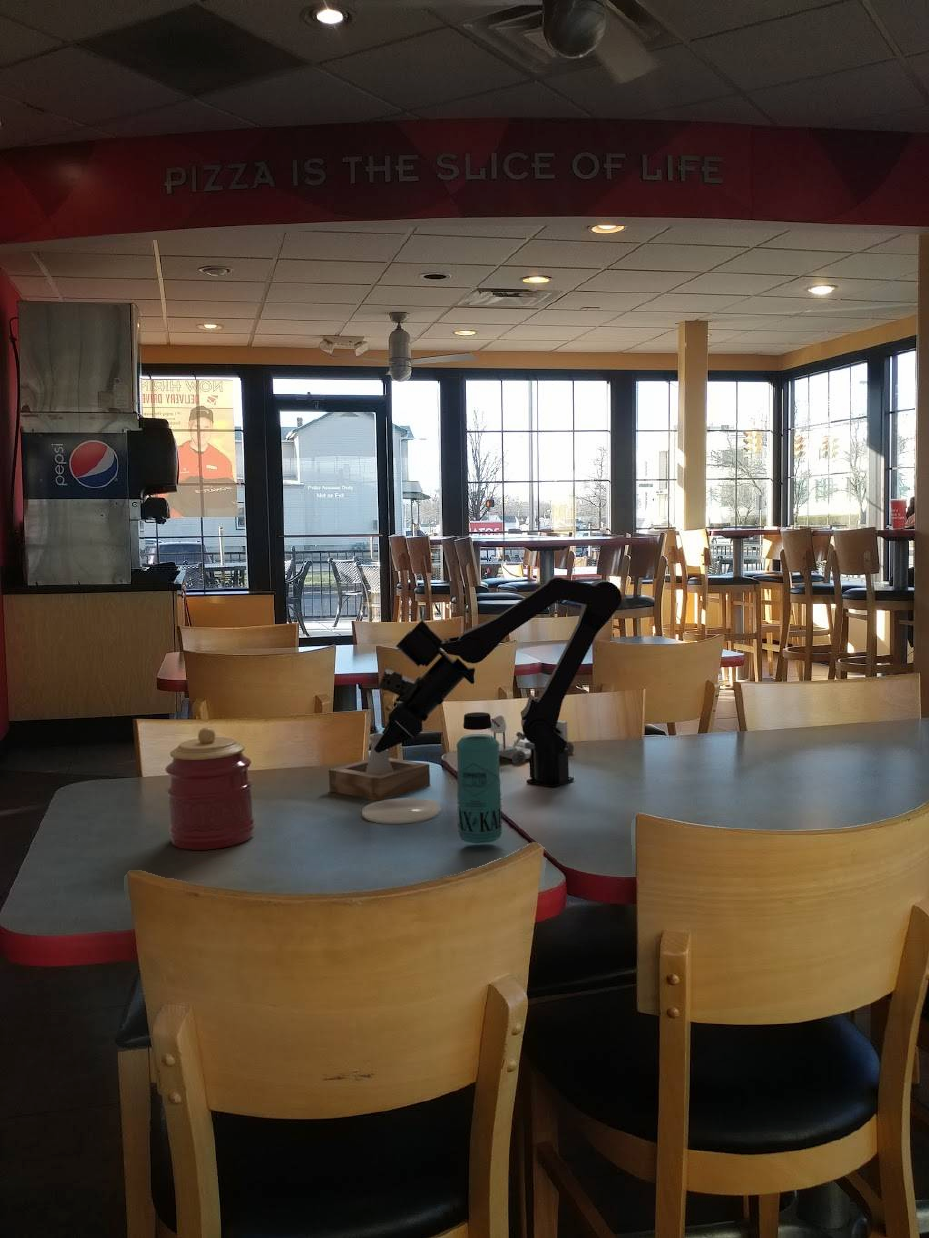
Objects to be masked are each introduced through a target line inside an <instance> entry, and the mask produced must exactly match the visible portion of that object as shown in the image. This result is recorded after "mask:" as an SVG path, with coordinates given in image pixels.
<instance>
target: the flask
mask: <svg viewBox="0 0 929 1238" xmlns="http://www.w3.org/2000/svg"><path fill="white" fill-rule="evenodd" d="M381 733H382V732H381ZM381 733H372V734H369V740H370V741H371V742H370V744H371V747H370V754H369V758H368V759H369V762H368V766H367V769H366V773H371V774H377V775H381V774H384V773H388V772H391V771H393V769H392V767H391V764H390V761H389V758H390V757H389V756H388V751H387V749H386V750H384V751H382V752H380V753H377V752H376V751H375V750H374V748H375V746H376V745H377V743H378V742H379V740H380V739H381V737H382V735H383V734H381Z"/></svg>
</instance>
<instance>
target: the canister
mask: <svg viewBox="0 0 929 1238" xmlns="http://www.w3.org/2000/svg"><path fill="white" fill-rule="evenodd" d="M197 735H198V736H197V738H195V739H190V740H185V741H182V742H181V743H179V745H178V746H177V747H176V748H174V749H173V750H171V751H170V752H169V755H170V757H171V758H172V762H170V763H168V765H167V766H166V767H165V772H166V773H167V774H168V775H169V776H168V777H169V785H168V786H167V788H166V794H167V795H168V796H167V797H168V809H169V811H168V812H169V827H168V830H169V838H171V843H172V845H173V846H175V847H177V848H179V849H184V850H192V851H194V850H195V851H199V850H200V851H207V850H216V849H222V848H224V849H225V848H228V847H233V846H235V845H239V844H242V843H244V842H246V841H249V840H250V839H251V838H252V837H253V835H254V829H255V817H254V811H253V796H252V795H253V793H252V785H253V780H251V778H250V776H249V767H250V765H251V764H252V761H251V759H250V758H249V757H247V756H245V755H244V753H243V752H244V750H245V749H246V748H245V747H246V746H245V745H244V744H242V743H240V742H238V741H236V739H234V738H231V737H225V736H224V737H223V736H222V737H221V736H220V737H219V736H216V732H215V730H214V729H213V728H211V727H204V728H201V729H200V730H199V731H198V734H197Z"/></svg>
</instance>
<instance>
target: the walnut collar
mask: <svg viewBox="0 0 929 1238" xmlns="http://www.w3.org/2000/svg"><path fill="white" fill-rule="evenodd" d="M388 758H389V761H390V764H391V767H392V769H393V771H391V772H388V773H384V774H381V775H377V774H371V773H366V769H367V766H368V762H369V758H368V759H364V760H360V761H356V762H353V763H349V764H345V765H342V766H338V767H334V768H331V769H330V768H329V769H328V783H329V792H331V793H338V794H343V795H348V796H352V797H358V798H364V799H367V800H373V801H376V802H378V801H383V800H389V799H393V798H394V797H395V798H396V797H398V796H401V795H404V794H407V793H410V792H414V791H417V790H420V789H423V788H427V787H431V777H430V776H431V772H430V771H431V770H430V764H429V763H423V762H418V761H414V760H413V761H412V760H406V759H400V758H399V759H398V758H391V757H388Z"/></svg>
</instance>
